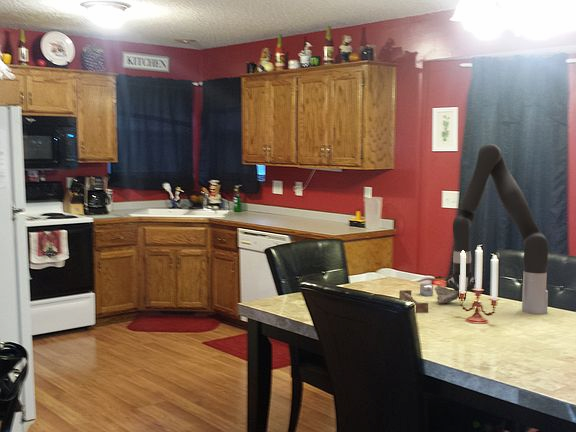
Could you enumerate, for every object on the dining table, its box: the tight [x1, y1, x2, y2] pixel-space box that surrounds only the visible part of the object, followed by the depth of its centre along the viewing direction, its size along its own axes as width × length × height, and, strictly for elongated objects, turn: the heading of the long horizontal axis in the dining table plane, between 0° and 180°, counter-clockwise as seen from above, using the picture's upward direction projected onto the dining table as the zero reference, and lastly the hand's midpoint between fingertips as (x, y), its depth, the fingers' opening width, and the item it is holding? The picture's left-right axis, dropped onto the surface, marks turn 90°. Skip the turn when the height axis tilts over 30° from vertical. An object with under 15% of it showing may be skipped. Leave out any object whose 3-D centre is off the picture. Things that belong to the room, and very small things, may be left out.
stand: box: [398, 289, 429, 314], centre depth 291 cm, size 5×27×5 cm, turn 5°
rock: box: [434, 284, 459, 304], centre depth 296 cm, size 11×6×10 cm
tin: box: [419, 283, 434, 298], centre depth 313 cm, size 6×6×5 cm
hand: (462, 300), depth 292 cm, fingers closed
